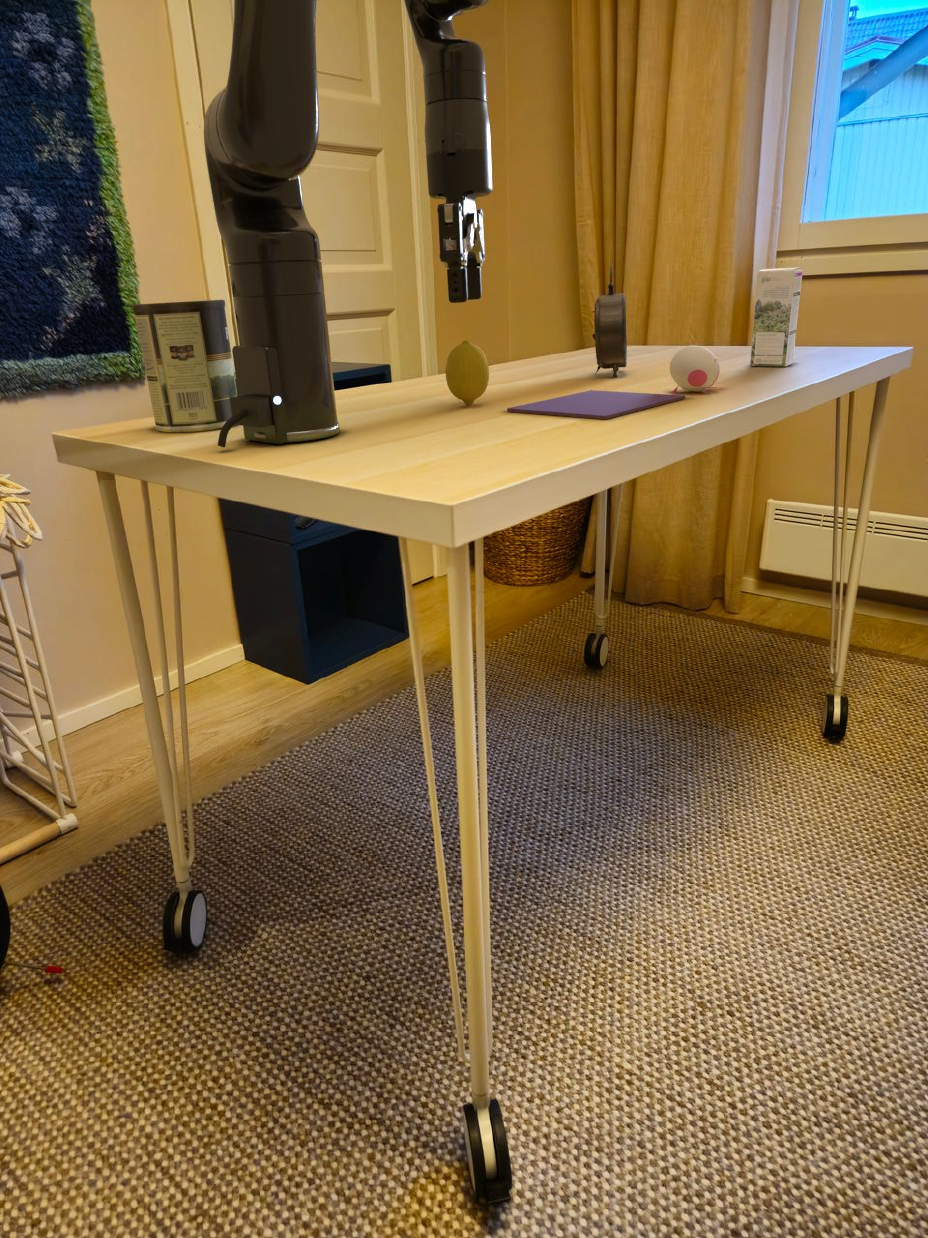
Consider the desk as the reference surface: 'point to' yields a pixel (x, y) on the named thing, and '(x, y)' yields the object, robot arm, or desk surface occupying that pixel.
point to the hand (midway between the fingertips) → (466, 300)
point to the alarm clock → (610, 330)
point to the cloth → (596, 404)
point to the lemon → (467, 372)
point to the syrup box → (775, 316)
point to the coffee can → (187, 363)
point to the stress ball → (694, 368)
